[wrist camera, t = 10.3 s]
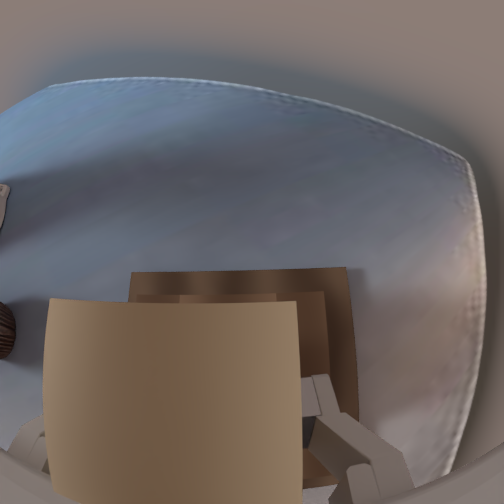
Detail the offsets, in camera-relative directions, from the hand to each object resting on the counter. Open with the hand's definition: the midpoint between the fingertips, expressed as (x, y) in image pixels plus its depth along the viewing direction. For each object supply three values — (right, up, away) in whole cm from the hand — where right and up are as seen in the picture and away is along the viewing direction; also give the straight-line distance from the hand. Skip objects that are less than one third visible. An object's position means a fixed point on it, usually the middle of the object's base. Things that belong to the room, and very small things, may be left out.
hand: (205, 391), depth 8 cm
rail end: (0, -3, +5) cm, 6 cm away
